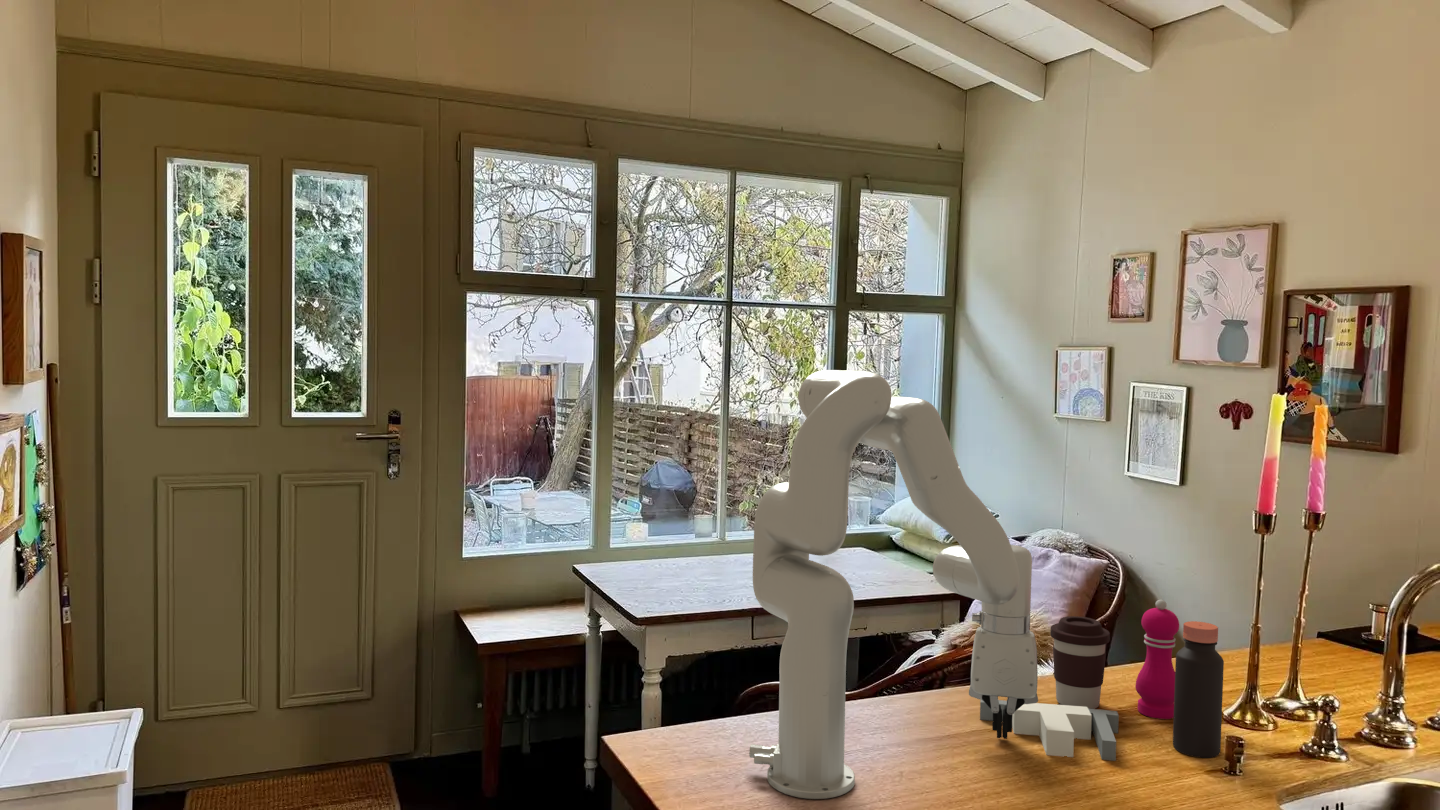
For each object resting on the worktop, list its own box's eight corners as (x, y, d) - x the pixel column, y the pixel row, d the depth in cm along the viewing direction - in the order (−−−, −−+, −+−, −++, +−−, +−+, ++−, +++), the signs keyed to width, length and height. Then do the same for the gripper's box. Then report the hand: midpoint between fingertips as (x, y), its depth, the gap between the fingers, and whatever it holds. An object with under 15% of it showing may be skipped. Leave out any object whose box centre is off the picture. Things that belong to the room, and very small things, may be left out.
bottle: (1182, 738, 159) (1186, 617, 158) (1226, 750, 155) (1231, 625, 154) (1165, 749, 155) (1170, 624, 154) (1211, 762, 150) (1215, 634, 149)
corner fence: (980, 746, 155) (981, 727, 155) (979, 715, 169) (980, 698, 168) (1129, 762, 150) (1130, 743, 150) (1116, 728, 163) (1116, 711, 163)
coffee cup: (1112, 701, 177) (1115, 618, 176) (1101, 717, 168) (1103, 631, 168) (1056, 690, 182) (1058, 610, 181) (1042, 706, 174) (1044, 622, 173)
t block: (1019, 752, 153) (1020, 727, 153) (1011, 724, 165) (1011, 701, 164) (1100, 759, 151) (1101, 734, 150) (1086, 730, 162) (1087, 706, 162)
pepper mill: (1184, 722, 167) (1189, 606, 166) (1139, 718, 168) (1143, 603, 167) (1174, 707, 174) (1178, 596, 173) (1130, 704, 175) (1134, 593, 174)
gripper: (956, 625, 155) (953, 738, 156) (1056, 633, 151) (1052, 749, 152) (957, 613, 162) (954, 722, 163) (1052, 620, 158) (1049, 732, 159)
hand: (1001, 735), depth 157 cm, fingers closed
